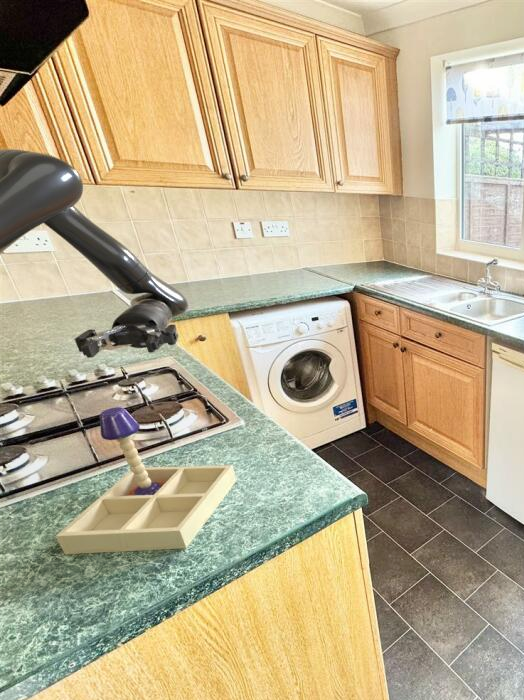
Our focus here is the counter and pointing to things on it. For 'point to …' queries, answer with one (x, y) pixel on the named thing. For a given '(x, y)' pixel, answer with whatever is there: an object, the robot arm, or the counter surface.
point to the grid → (150, 511)
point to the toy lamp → (127, 445)
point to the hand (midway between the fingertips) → (119, 350)
